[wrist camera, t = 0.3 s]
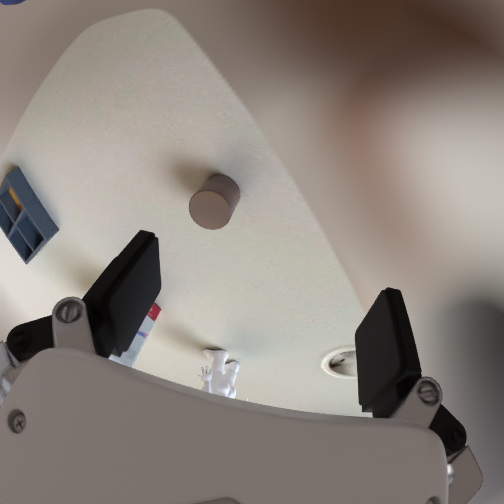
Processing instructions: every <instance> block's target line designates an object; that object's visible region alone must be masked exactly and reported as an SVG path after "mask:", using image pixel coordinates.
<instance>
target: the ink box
mask: <svg viewBox="0 0 504 504" xmlns="http://www.w3.org/2000/svg"><path fill="white" fill-rule="evenodd" d="M160 311H161V308H159V307H158V306H157V305H156V304H155V303H153V305H152V307H151V308H150V310H149V312H148V314H147V316H146V317H145V319H144V321H143V323H142V325H141V327H140V328H139V330H138V332H137V334H136V336H135V338H134V340H133V341H132V343H131V345H130V347H129V349H128V351H127V352H123V353H122V355H121V357H117V356H115V355H112V354H111V355H110V357H109V358H108V359H110V360H112V361H115V362H117V363H120V364H123V365H125V366H128V367H131V368H132V367H133V365H134V362H135V360H136V358H137V356H138V354H139V352H140V350H141V348H142V346H143V344H144V342H145V340H146V338H147V336H148V334H149V332H150V330H151V328H152V326H153V324H154V322H155V320H156V319H157V317H158V315H159V313H160Z"/></svg>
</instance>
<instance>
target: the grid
mask: <svg viewBox="0 0 504 504" xmlns="http://www.w3.org/2000/svg"><path fill="white" fill-rule="evenodd" d="M0 227H1V229H2V230H3V232H4V233H5V235H6V236H7V238H8V239H9V241H10V242H11V244H12V245H13V247H14V248H15V250H16V251H17V252H18V254H19V255H20V257H21V258H22V259H23V261H24V262H25V263H26V265H27V264H28V263H29V262H30V261H31V260H32V259H33V258H34V257H35V256H36V254H37V253H38V252H39V251H40V250H41V249H42V248H43V247H44V246H45V244H46V243H47V242H48V241H49V240H50V239H51V238H52V237H53V236H54V235H55V234H56V233H57V232H58V231H59V229H58V228H57V226H56V225H55V223H54V222H53V221H52V219H51V218H50V216H49V215H48V213H47V212H46V210H45V209H44V207H43V206H42V204H41V203H40V201H39V200H38V198H37V197H36V195H35V193H34V192H33V190H32V189H31V187H30V185H29V184H28V182H27V180H26V179H25V177H24V175H23V173H22V172H21V170H20V168H17V169H16V170H14V171H12V172H11V173H9V174H8V175H6V177H5V179H4V181H3V183H2V186H1V188H0Z"/></svg>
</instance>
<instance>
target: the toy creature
mask: <svg viewBox="0 0 504 504" xmlns="http://www.w3.org/2000/svg"><path fill="white" fill-rule="evenodd" d="M202 353H203V354H204V356H205V357H208V358H209V359H210V360H212V361H213V363H212V366H211V369H210V371H209V370H208V366H206V373H205V372H204V368H203V367H202V372H203V375H202V377H201V376H200V375H198V376H199V377H200V379H201V380H202V381H204V382H205V383H204V386H203V389H202V391H205V392H209V393H213V394H217V395H221V396H225V397H229V398H234V397H235V395H236V389H235V387H234V382H235V379H236V375H237V372H238V370H239V364H238V363H237V362H235V361H233V362H230V363H228V364H225V362H226V360H227V358H228V353H227V352H226V351H223V350H218V351H211V350H207V349H206V350H203V351H202ZM223 372H225V374H223ZM246 401H247V402H248V401H249V397H248V398H247V400H246Z"/></svg>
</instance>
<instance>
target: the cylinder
mask: <svg viewBox="0 0 504 504" xmlns="http://www.w3.org/2000/svg"><path fill="white" fill-rule="evenodd" d="M239 199H240V190H239V187H238V186H237V184H236V183H235V182H234V181H233V180H232V179H231V178H229V177H227V176H224V175H214V176H212V177H210V178H208V179H207V180H206V181H205V182H204V183H203V185H202V186H201V187H200V188H199V189H198V190H197V192H196V193H195V194H194V195H193V196H192V198H191V200H190V202H189V212H190V215H191V217H192V219H193V220H194V221H195V222H196V223H197V224H198V225H200V226H201V227H203V228H206V229H211V230H215V229H220V228H222V227H224V226H225V225H226V224H227V223H228V222H229V220H230V218H231V216H232V214H233V212H234V210H235V208H236V206H237V204H238V202H239Z"/></svg>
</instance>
